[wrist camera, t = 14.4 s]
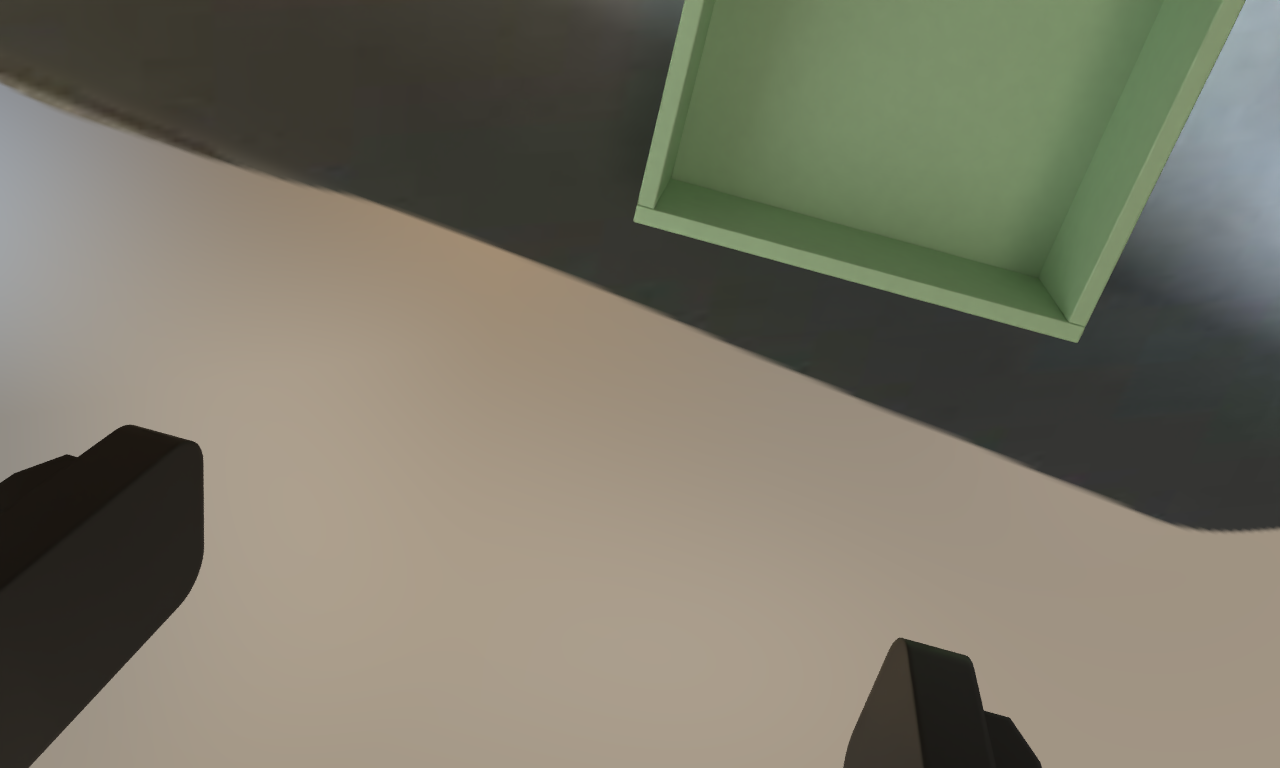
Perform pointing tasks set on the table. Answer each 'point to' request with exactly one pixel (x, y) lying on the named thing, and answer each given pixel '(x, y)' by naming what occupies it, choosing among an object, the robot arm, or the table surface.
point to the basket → (930, 140)
